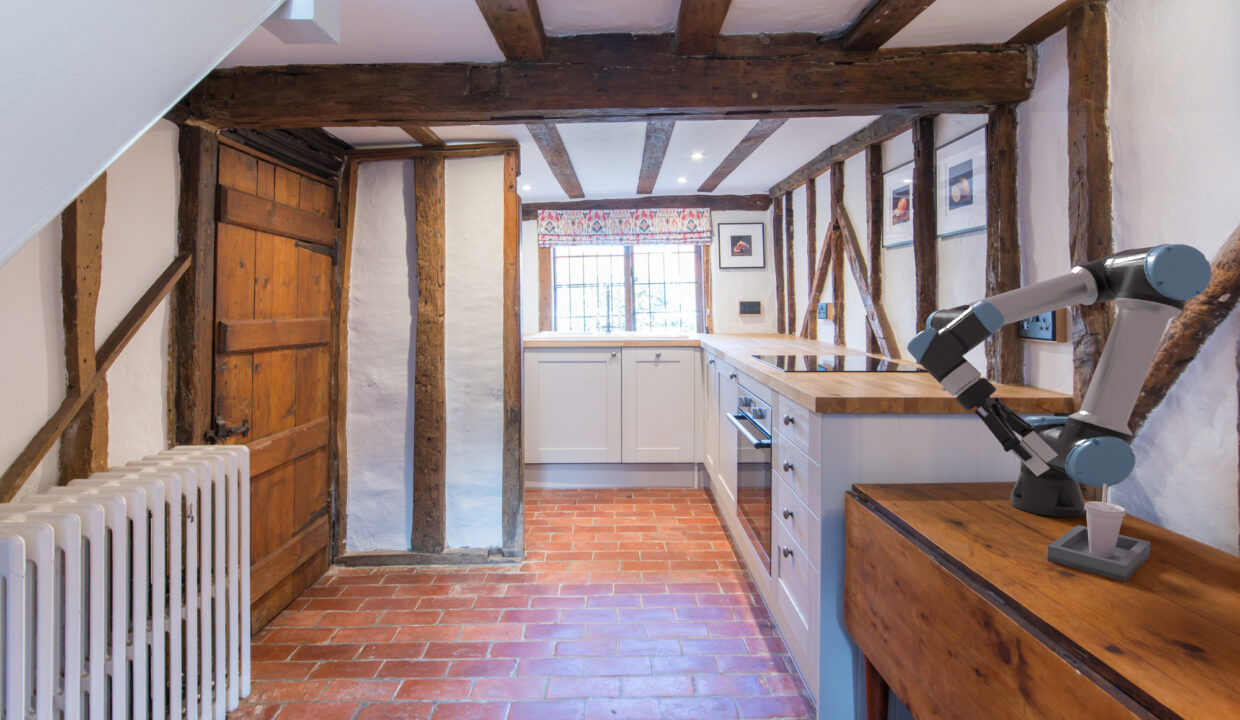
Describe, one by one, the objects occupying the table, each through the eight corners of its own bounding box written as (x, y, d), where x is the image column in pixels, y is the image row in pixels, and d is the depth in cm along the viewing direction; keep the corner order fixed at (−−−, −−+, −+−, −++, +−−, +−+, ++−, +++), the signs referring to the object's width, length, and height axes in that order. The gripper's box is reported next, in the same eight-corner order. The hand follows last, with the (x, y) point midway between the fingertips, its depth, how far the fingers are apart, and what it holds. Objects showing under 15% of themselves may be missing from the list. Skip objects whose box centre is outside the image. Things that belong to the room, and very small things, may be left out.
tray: (1076, 538, 129) (1077, 524, 129) (1149, 556, 119) (1150, 541, 119) (1047, 560, 118) (1048, 545, 118) (1124, 582, 108) (1126, 566, 108)
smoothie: (1113, 549, 120) (1118, 481, 119) (1128, 562, 114) (1134, 491, 113) (1075, 545, 122) (1080, 478, 121) (1088, 557, 116) (1093, 488, 115)
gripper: (967, 391, 143) (1040, 463, 134) (939, 405, 124) (1022, 489, 116) (994, 371, 139) (1071, 443, 130) (969, 381, 120) (1057, 467, 112)
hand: (1048, 465), depth 123 cm, fingers open, 13 cm apart
